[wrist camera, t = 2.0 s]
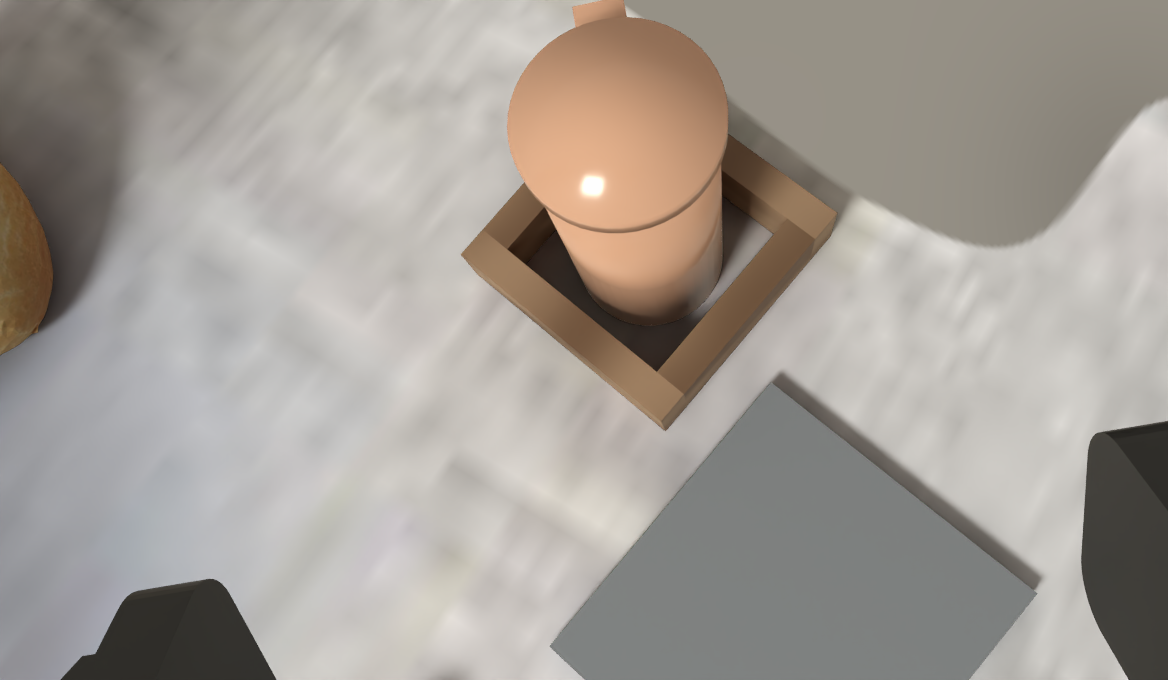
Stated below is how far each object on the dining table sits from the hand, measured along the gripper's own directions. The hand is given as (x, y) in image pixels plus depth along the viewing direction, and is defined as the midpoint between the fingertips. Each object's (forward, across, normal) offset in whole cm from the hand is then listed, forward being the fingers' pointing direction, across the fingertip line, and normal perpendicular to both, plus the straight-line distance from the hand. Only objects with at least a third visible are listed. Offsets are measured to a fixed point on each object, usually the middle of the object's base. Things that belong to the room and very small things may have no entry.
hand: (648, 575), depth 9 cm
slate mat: (+18, -2, +20) cm, 27 cm away
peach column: (+27, 0, +11) cm, 29 cm away
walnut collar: (+27, 0, +11) cm, 29 cm away
